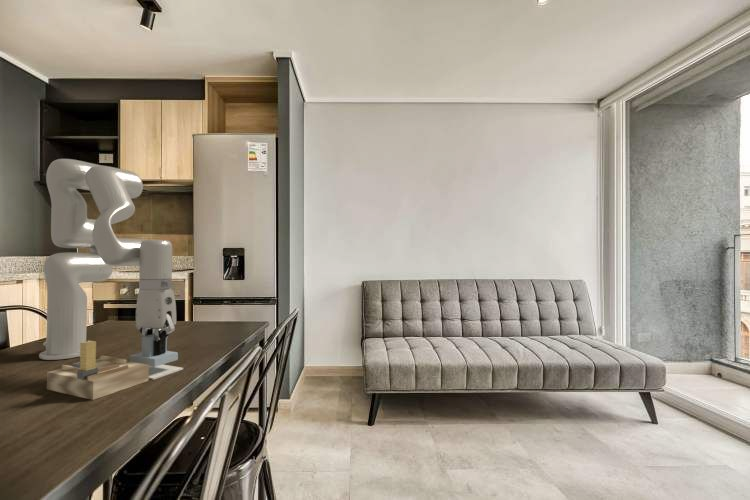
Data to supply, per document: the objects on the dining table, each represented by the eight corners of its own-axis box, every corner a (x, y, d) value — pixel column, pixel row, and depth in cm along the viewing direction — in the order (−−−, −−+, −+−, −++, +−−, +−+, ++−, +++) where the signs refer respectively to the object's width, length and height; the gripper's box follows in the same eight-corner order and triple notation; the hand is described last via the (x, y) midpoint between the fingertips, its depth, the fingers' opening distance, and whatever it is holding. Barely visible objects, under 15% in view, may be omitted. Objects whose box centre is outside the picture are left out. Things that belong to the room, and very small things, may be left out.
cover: (129, 362, 97) (130, 336, 97) (153, 356, 104) (154, 331, 104) (154, 366, 94) (155, 339, 94) (177, 359, 100) (178, 334, 100)
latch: (68, 376, 82) (69, 341, 82) (83, 372, 84) (84, 338, 85) (83, 379, 80) (84, 344, 80) (97, 375, 83) (98, 341, 83)
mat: (123, 374, 96) (123, 372, 96) (154, 364, 105) (154, 363, 105) (153, 379, 93) (153, 378, 93) (183, 369, 101) (183, 367, 101)
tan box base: (46, 389, 85) (47, 367, 85) (104, 372, 97) (105, 353, 97) (93, 399, 80) (93, 376, 80) (148, 380, 92) (148, 360, 92)
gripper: (190, 285, 100) (189, 353, 99) (146, 283, 105) (145, 347, 105) (165, 287, 93) (164, 360, 92) (120, 285, 98) (119, 354, 98)
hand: (154, 353), depth 99 cm, fingers closed on cover, 3 cm apart
